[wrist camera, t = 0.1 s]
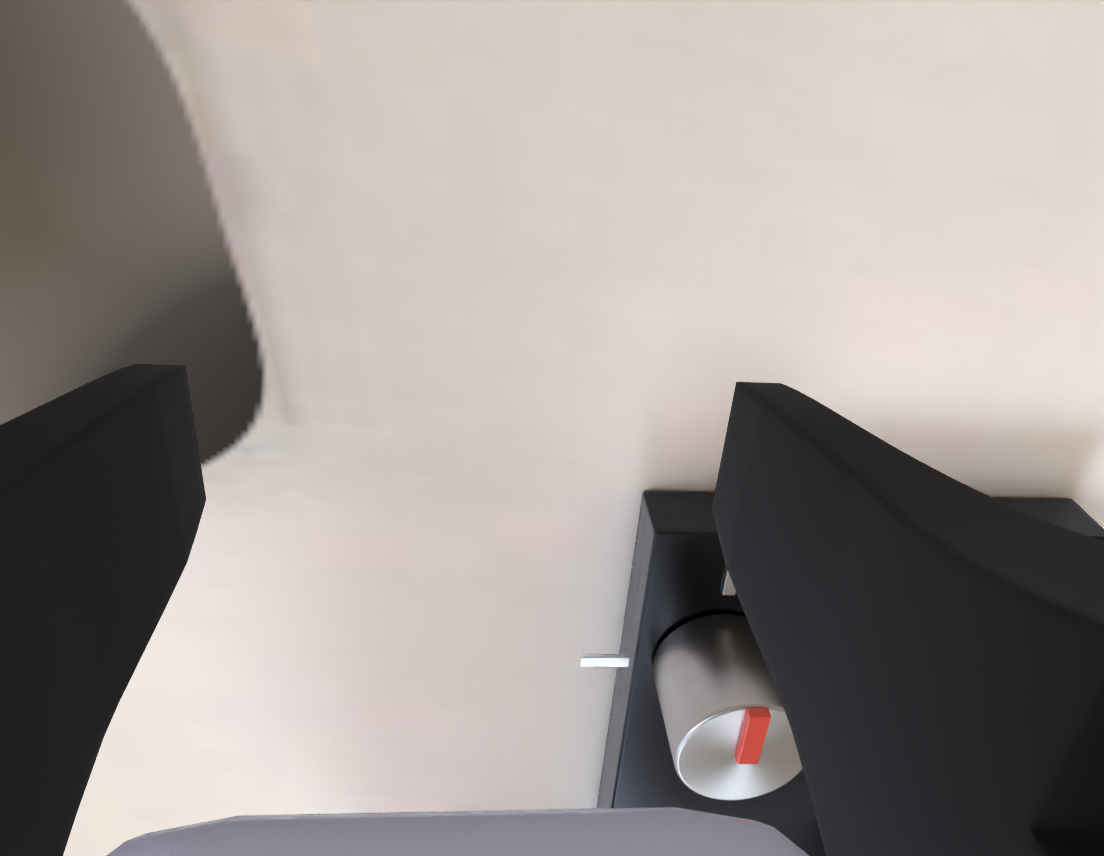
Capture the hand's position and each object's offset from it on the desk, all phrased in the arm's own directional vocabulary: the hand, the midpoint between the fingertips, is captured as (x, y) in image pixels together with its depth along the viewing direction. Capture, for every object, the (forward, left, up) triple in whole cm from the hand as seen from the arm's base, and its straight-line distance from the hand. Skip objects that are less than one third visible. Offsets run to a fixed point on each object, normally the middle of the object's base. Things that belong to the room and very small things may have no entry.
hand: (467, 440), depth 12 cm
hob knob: (-12, -7, -8) cm, 16 cm away
